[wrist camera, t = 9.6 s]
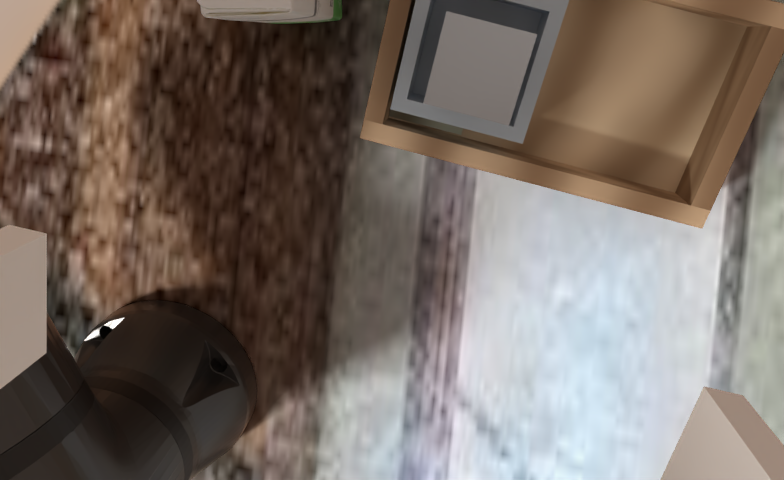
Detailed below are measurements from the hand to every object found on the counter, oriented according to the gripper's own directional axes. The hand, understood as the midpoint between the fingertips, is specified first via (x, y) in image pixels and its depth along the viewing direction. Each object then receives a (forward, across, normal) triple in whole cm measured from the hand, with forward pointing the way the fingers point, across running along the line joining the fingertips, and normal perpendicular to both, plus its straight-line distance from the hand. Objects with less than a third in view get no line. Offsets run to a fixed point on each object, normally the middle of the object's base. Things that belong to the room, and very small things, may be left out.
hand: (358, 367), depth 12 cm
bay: (+31, +7, +6) cm, 32 cm away
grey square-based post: (+29, +2, +6) cm, 30 cm away
